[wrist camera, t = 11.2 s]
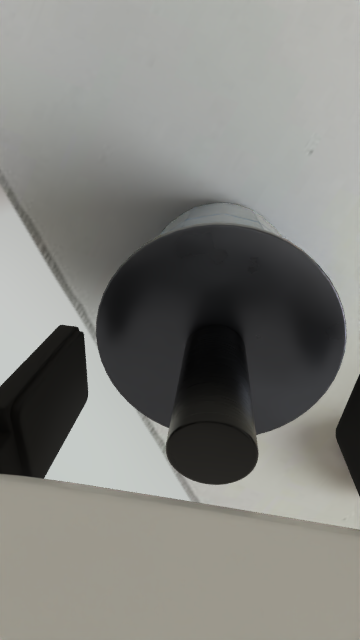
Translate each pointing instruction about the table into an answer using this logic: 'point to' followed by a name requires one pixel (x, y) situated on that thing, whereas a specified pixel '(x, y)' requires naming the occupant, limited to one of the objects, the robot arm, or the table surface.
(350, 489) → the table surface
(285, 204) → the table surface
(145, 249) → the lid
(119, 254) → the table surface
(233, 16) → the table surface
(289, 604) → the robot arm
